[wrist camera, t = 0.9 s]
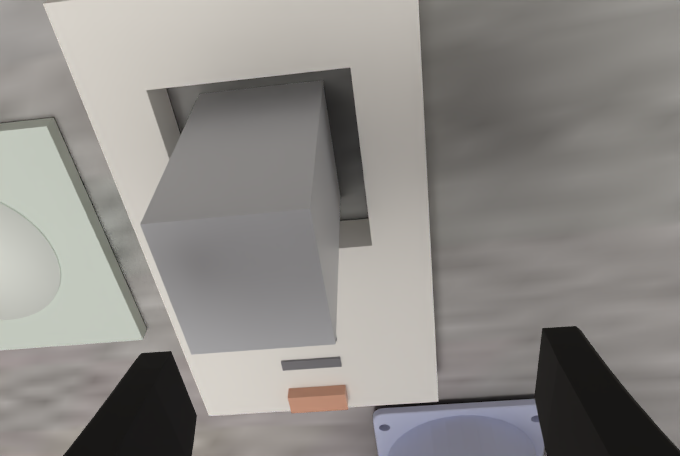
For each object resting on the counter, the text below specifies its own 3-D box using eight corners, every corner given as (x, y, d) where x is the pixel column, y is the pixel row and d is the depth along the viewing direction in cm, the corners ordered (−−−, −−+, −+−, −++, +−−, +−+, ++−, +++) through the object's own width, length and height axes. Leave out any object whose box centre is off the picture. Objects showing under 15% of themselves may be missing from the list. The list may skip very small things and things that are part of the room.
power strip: (434, 372, 28) (439, 411, 26) (215, 386, 29) (207, 425, 27) (411, -59, 17) (417, -38, 16) (64, -14, 18) (35, 9, 17)
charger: (340, 197, 23) (335, 344, 17) (231, 207, 23) (191, 354, 17) (322, 80, 20) (309, 208, 14) (199, 93, 20) (140, 224, 15)
